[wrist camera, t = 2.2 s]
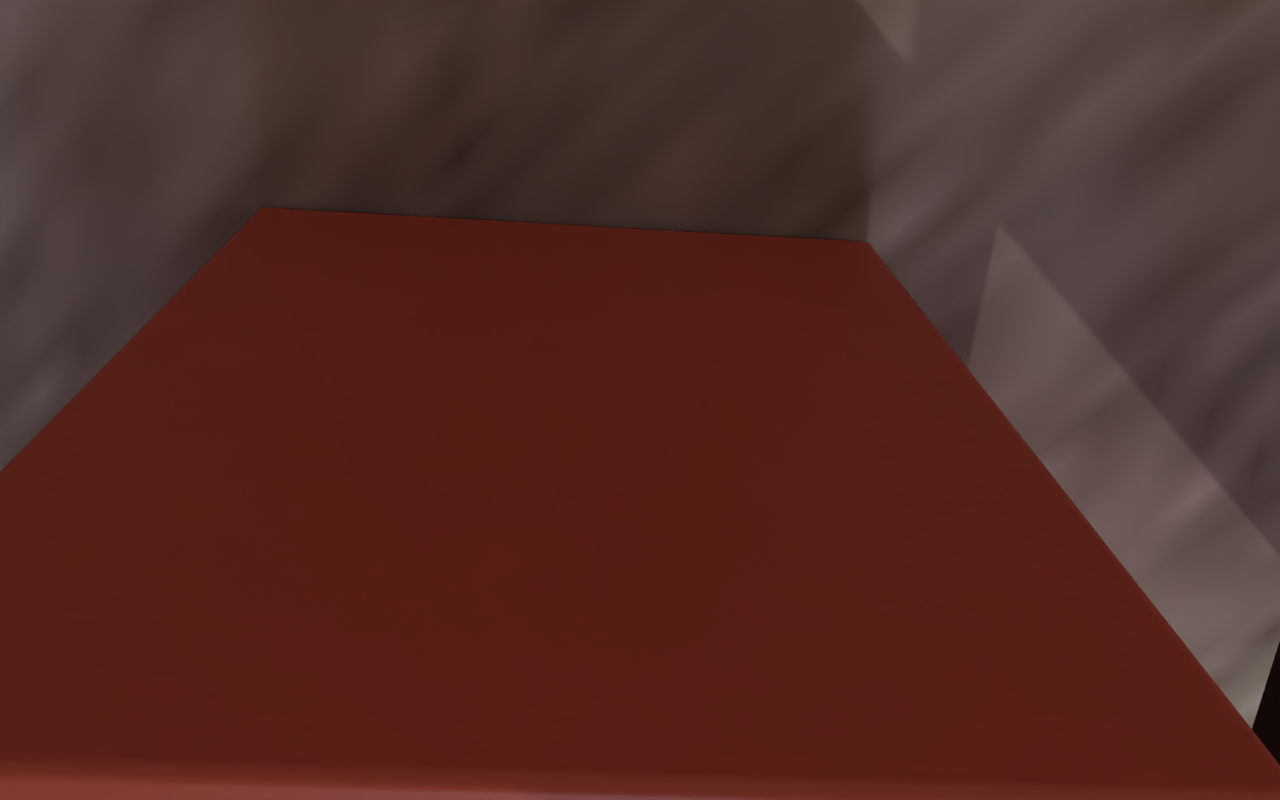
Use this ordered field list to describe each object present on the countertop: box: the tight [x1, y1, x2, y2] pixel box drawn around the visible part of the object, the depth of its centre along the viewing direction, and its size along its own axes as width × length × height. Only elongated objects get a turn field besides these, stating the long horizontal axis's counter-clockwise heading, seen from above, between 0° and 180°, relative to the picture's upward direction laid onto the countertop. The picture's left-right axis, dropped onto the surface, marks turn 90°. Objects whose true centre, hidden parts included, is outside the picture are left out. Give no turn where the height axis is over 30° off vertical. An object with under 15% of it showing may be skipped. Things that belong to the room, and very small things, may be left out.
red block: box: [0, 208, 1280, 800], centre depth 9 cm, size 6×6×8 cm
